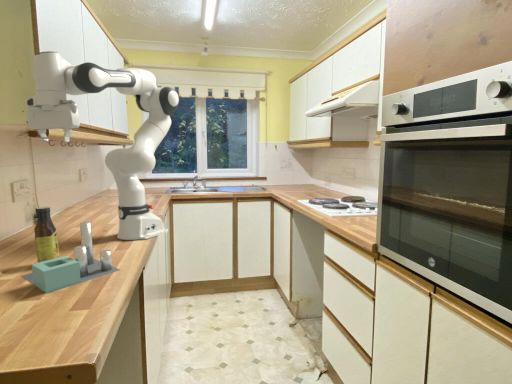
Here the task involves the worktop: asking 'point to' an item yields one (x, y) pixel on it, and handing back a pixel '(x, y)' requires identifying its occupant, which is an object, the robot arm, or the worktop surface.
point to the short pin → (105, 260)
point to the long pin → (87, 240)
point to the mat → (93, 273)
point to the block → (56, 273)
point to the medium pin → (81, 259)
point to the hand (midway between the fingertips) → (55, 142)
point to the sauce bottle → (45, 236)
